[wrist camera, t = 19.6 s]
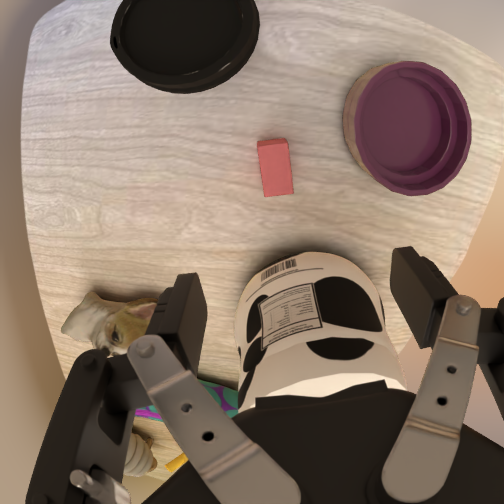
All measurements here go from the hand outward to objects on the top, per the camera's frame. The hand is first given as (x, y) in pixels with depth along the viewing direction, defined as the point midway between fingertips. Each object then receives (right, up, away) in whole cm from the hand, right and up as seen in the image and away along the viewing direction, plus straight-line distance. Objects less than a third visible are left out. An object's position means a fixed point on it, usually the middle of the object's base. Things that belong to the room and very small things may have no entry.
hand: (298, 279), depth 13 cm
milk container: (+5, -5, +27) cm, 28 cm away
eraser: (0, +10, +19) cm, 21 cm away
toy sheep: (-29, -39, +47) cm, 67 cm away
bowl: (+14, +15, +16) cm, 26 cm away
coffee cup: (-5, +20, +13) cm, 25 cm away
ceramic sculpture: (-19, -7, +29) cm, 35 cm away
